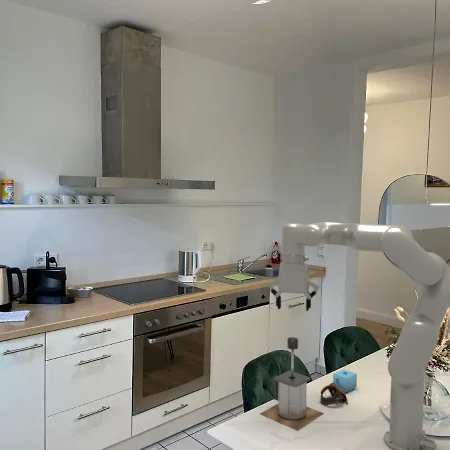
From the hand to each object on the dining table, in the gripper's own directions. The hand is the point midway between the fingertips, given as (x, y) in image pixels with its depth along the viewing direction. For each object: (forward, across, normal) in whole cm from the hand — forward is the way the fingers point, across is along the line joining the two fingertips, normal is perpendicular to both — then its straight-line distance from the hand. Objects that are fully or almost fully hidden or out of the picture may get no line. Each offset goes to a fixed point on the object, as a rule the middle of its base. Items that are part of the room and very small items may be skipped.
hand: (293, 309), depth 154 cm
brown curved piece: (+38, -13, -14) cm, 43 cm away
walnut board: (+38, 0, +1) cm, 38 cm away
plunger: (+26, 0, +1) cm, 26 cm away
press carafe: (+36, +1, 0) cm, 37 cm away
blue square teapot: (+38, -16, -26) cm, 49 cm away
